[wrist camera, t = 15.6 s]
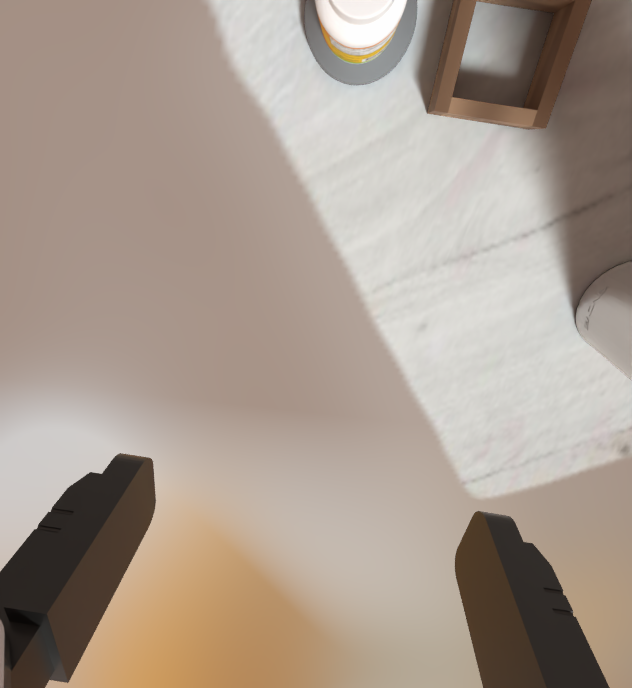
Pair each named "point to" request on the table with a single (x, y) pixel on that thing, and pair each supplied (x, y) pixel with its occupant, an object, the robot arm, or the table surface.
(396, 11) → the supplement bottle
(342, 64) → the rubber coaster
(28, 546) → the robot arm
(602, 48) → the table surface
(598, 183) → the table surface
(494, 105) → the walnut collar
